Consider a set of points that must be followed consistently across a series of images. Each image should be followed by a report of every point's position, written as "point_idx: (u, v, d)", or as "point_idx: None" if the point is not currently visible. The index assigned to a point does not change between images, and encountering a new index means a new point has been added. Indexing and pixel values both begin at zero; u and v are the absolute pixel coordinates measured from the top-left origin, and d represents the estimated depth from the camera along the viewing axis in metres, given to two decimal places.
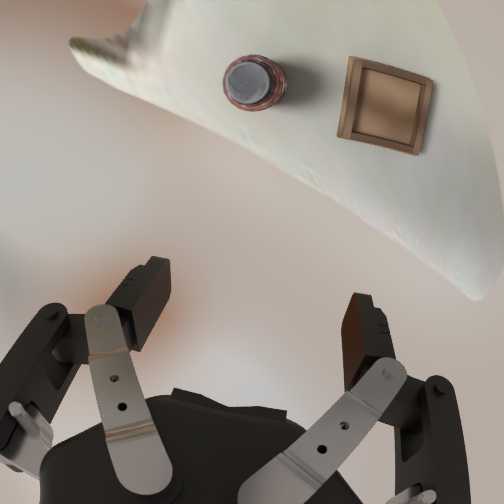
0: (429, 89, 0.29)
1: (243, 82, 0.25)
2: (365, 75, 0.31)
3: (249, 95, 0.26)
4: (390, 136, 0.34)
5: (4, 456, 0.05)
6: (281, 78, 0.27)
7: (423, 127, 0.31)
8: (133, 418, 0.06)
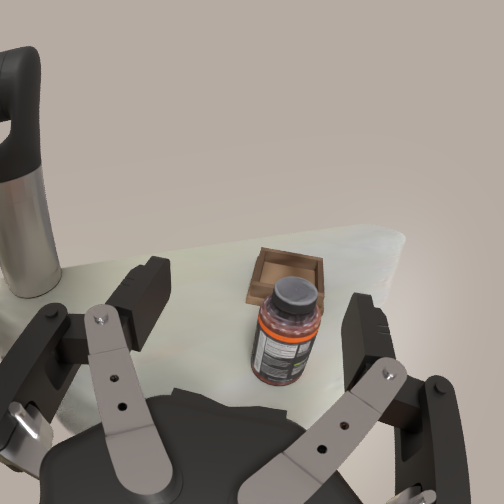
0: (268, 249, 0.49)
1: (296, 291, 0.28)
2: None
3: (309, 288, 0.28)
4: (312, 280, 0.47)
5: (4, 456, 0.05)
6: None
7: (300, 254, 0.49)
8: (133, 418, 0.06)
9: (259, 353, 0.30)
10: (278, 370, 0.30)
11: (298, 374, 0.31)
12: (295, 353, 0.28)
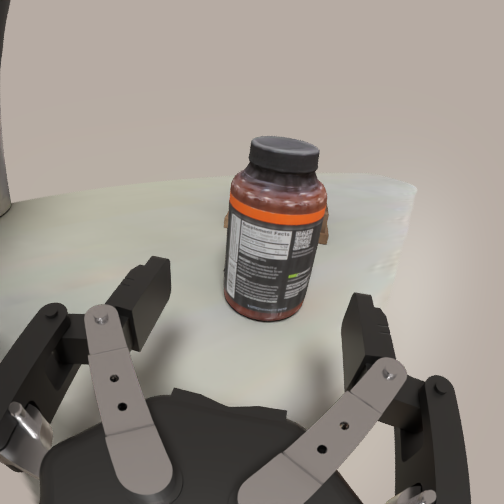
0: None
1: (286, 144, 0.17)
2: None
3: (306, 144, 0.18)
4: None
5: (4, 456, 0.05)
6: None
7: None
8: (133, 418, 0.06)
9: (232, 259, 0.20)
10: (264, 287, 0.19)
11: (296, 300, 0.21)
12: (289, 250, 0.18)
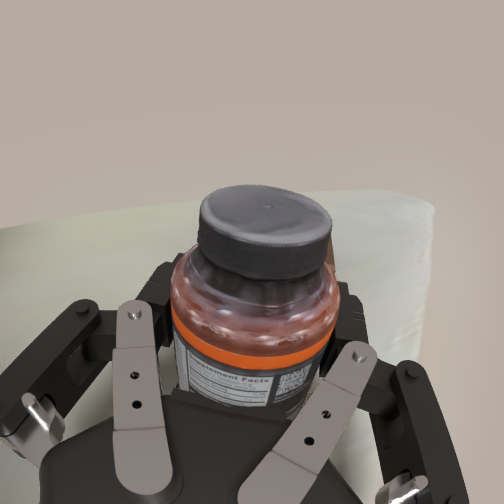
0: None
1: (267, 210, 0.09)
2: None
3: (306, 208, 0.10)
4: None
5: (10, 442, 0.06)
6: None
7: None
8: (145, 417, 0.06)
9: (183, 387, 0.12)
10: None
11: None
12: (269, 397, 0.10)
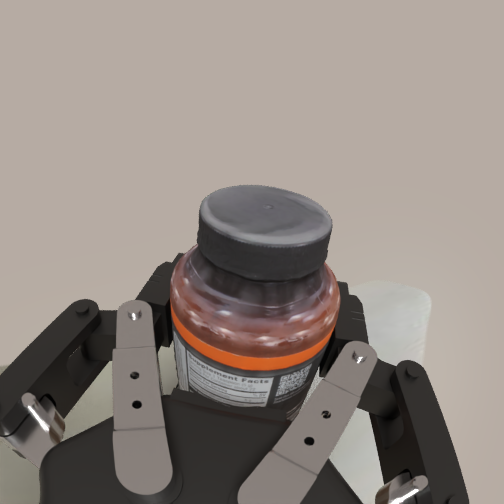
0: None
1: (266, 211, 0.09)
2: None
3: (306, 208, 0.10)
4: None
5: (10, 442, 0.06)
6: None
7: None
8: (145, 417, 0.06)
9: (183, 387, 0.12)
10: None
11: None
12: (269, 397, 0.10)
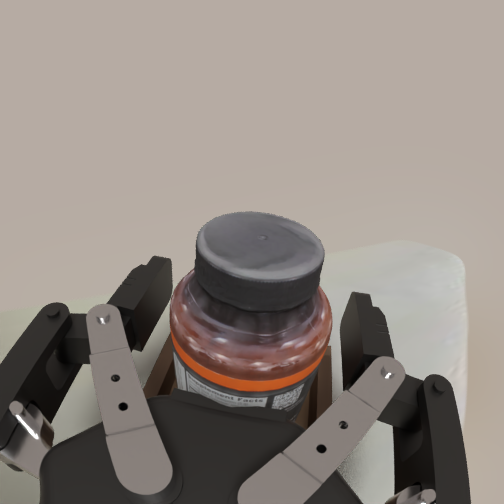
0: None
1: (261, 242, 0.10)
2: None
3: (300, 238, 0.10)
4: (302, 407, 0.17)
5: (4, 455, 0.05)
6: None
7: None
8: (134, 418, 0.06)
9: None
10: None
11: None
12: None
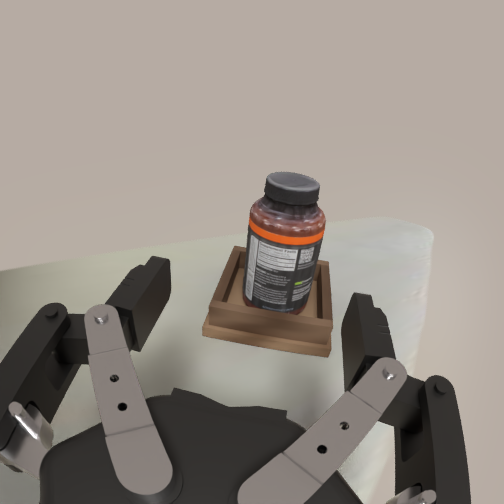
0: (245, 249, 0.32)
1: (293, 180, 0.23)
2: None
3: (309, 180, 0.23)
4: (313, 296, 0.30)
5: (4, 456, 0.05)
6: None
7: None
8: (133, 418, 0.06)
9: (250, 270, 0.25)
10: (275, 292, 0.25)
11: (301, 302, 0.26)
12: (295, 264, 0.23)
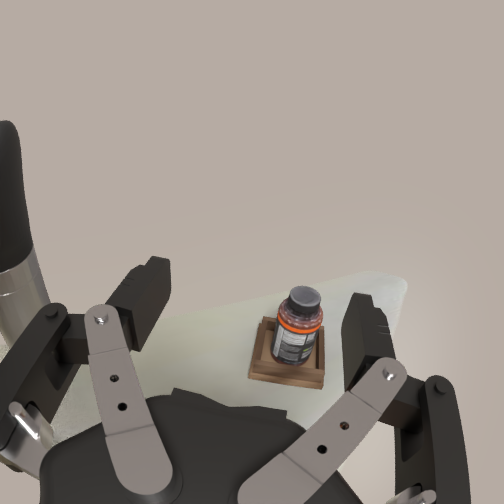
0: (270, 318, 0.48)
1: (305, 296, 0.39)
2: None
3: (314, 294, 0.39)
4: (313, 349, 0.46)
5: (4, 456, 0.05)
6: None
7: None
8: (133, 418, 0.06)
9: (278, 342, 0.41)
10: (292, 354, 0.41)
11: (306, 358, 0.42)
12: (304, 341, 0.40)
